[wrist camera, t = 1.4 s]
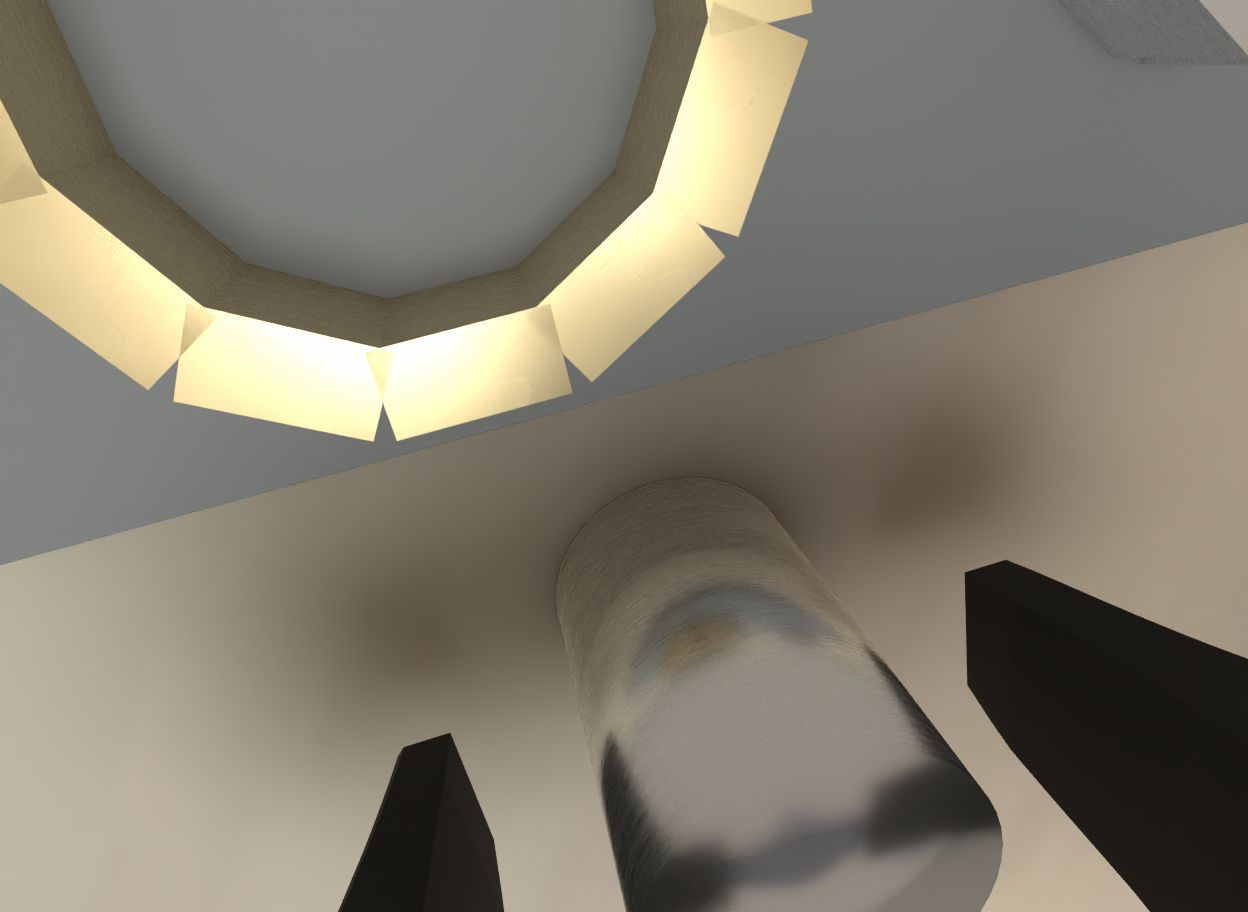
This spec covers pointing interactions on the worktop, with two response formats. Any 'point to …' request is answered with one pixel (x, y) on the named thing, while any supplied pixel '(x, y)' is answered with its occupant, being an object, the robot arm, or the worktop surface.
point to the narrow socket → (1167, 29)
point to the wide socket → (367, 324)
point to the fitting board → (583, 197)
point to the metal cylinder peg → (754, 723)
